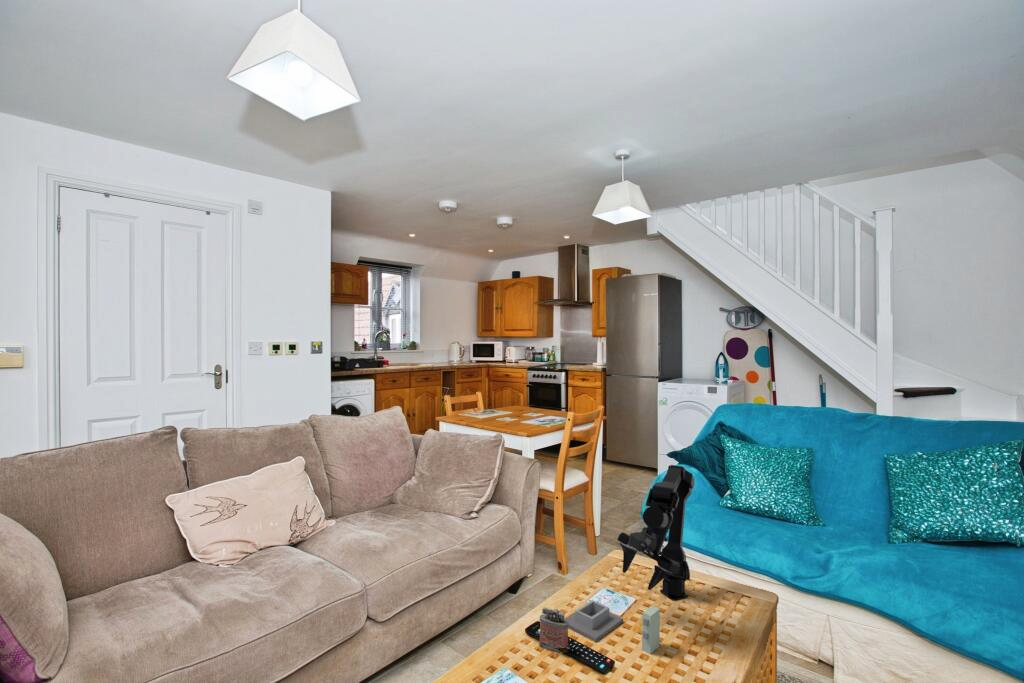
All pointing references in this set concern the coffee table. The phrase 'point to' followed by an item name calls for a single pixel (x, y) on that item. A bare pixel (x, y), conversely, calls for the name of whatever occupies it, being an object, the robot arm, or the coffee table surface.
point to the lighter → (553, 630)
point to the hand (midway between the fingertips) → (636, 580)
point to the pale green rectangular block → (650, 629)
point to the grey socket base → (593, 621)
